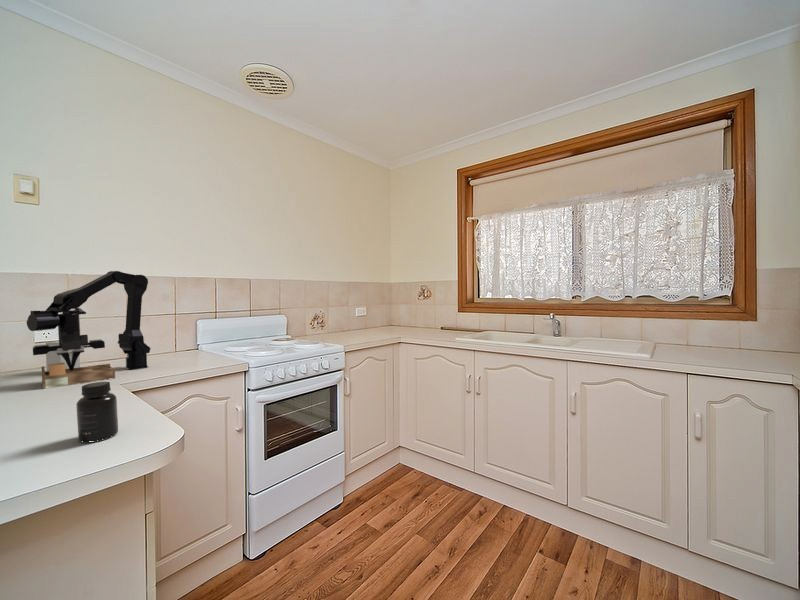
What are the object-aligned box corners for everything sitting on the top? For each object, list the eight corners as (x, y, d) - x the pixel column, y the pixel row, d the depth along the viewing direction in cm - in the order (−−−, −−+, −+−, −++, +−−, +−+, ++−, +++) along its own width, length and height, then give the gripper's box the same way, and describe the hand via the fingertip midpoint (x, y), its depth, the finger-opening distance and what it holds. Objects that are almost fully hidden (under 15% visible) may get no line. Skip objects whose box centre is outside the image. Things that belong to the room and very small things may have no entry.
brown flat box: (110, 373, 139) (109, 358, 139) (115, 378, 132) (114, 362, 132) (42, 383, 125) (41, 366, 125) (43, 388, 118) (42, 371, 118)
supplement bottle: (94, 431, 82) (92, 380, 81) (125, 430, 82) (123, 379, 82) (69, 444, 75) (66, 388, 74) (103, 443, 75) (101, 387, 75)
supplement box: (60, 374, 138) (59, 342, 138) (46, 373, 140) (44, 342, 140) (80, 370, 146) (79, 340, 145) (66, 369, 147) (65, 339, 147)
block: (64, 373, 127) (64, 362, 127) (65, 375, 124) (65, 364, 124) (49, 375, 124) (48, 364, 124) (49, 377, 122) (49, 365, 121)
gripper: (31, 332, 114) (34, 379, 115) (106, 326, 128) (108, 369, 128) (31, 329, 122) (34, 374, 122) (101, 324, 135) (103, 364, 136)
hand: (71, 370), depth 127 cm, fingers closed
